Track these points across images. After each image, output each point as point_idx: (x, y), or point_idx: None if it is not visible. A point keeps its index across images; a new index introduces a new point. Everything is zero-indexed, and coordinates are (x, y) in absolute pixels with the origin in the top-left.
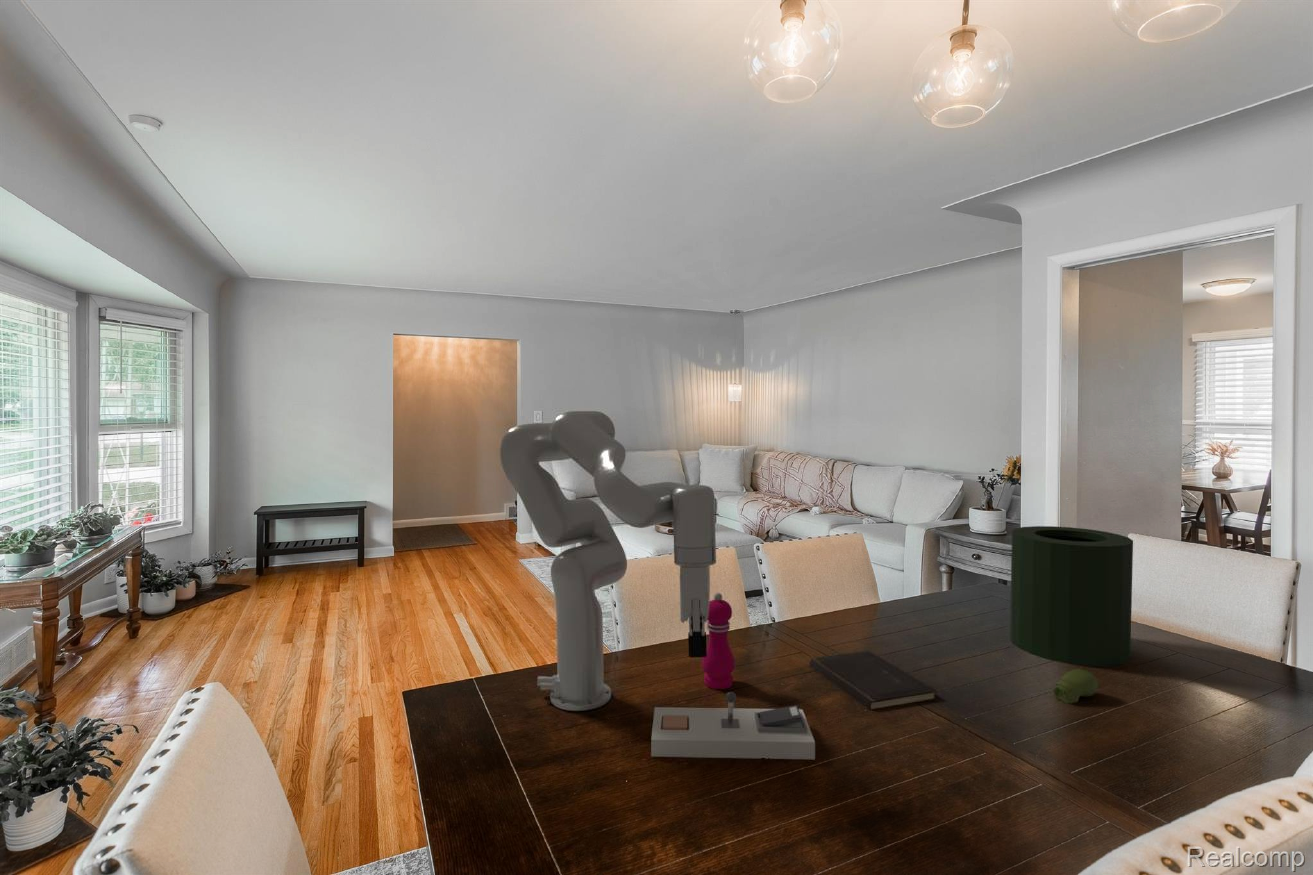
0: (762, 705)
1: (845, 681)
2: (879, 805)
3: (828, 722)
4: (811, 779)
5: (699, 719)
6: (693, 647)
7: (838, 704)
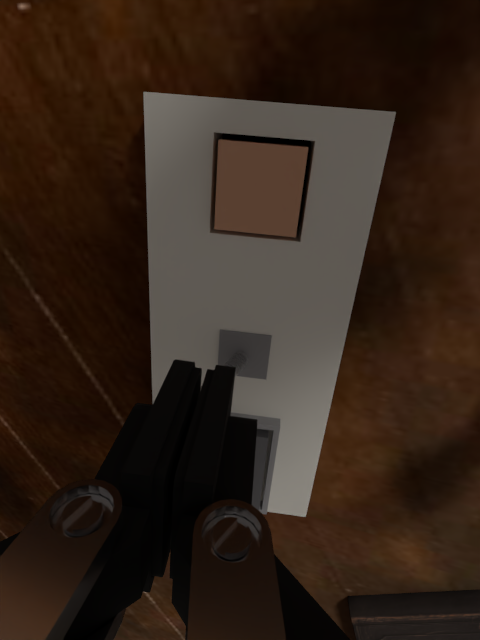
0: (418, 438)
1: (456, 615)
2: (41, 502)
3: (308, 527)
4: (98, 442)
5: (276, 273)
6: (125, 429)
7: (383, 564)
